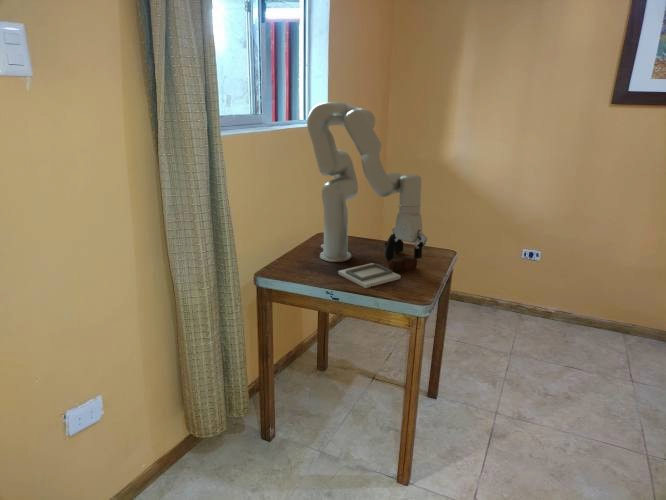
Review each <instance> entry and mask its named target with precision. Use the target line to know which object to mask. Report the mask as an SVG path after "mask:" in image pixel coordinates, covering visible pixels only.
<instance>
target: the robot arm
mask: <svg viewBox="0 0 666 500" xmlns="http://www.w3.org/2000/svg"><path fill="white" fill-rule="evenodd" d="M306 125H307V130H308V134H309V137H310V140H311V144H312V147H313V148H312V149H313V151H314V155H315V159H316V163H317V167H318V170H319V172H320V174H321V175H323V176H324V177H334V178H333V179H330V180H328V181H327V182H325V183H324V185H323V186H322V189H321V198H322V199H321V200H322V207H323V243H322V244H320V248H322V252H320V253H319V258H320V259H321V260H323V261H326V262H331V263H339V262H340V263H342V262H347V261H348V260H350V259H351V258H352V254H351V253H350V252H349V251H348V243H349V242H348V241H349V240H348V239H349V234H348V232H349V229H348V228H349V211H348V207H347V202H348V201H351V200H352V199H354V198H355V197H356V196H357V194H358V192H359V184H358V178H357V175H356V171H355V166H354V164H353V160H352V158H351V155H349V153H348V152H347V151H346V150H343V149H338V148H337V145H336V141H335V137H334V136H333V133H332V132H331V130H330V127H331V126H332V127H333V126H342V127H344V128H345V130H346V131H347V133H348V135H349V138H350V139H351V141H352V143H353V144H354V146H355V147H356V149H357V151H358V152H359V155H360V159H361V165H362V169H363V174H364V176H365V178H366V180H367V182H368V184H369V185H370V187H371V189H372V190H373V192H374V193H375V194H376V195H378V196H379V197H383V198H385V197H389V196H391V195H395V194H398V193H399V200H398V201H399V205H398V212H397V214H396V219H395V225H394V226H395V227H393V228H392V229H391V232H392V234H393V236H394V238H395V242H396V252H397V253H396V252H395V253H396V254H399V253H402V252H404V242H405V243H406V242H407V243H413V245H414V247H415V248H414V249H413V257H414V259H416V260H419V259H422V257H423V248H424V247H425V245H426V244H427V241H428V237H427V236H426V235H425V234H424V233H423V220H422V219H423V218H422V214H421V204H422V203H421V202H422V177H421V176H420V175H418V174H414V173H413V174H404V173H400V172H389V173H387V172H386V171H385V169H384V166H383V165H382V162H381V158H380V156H381V155H380V154H381V149H382V142H381V140H380V138H379V137H378V135H377V133H376V132H375V129H374V127H375V125H376V117H375V114H373V112H372V111H371V110H369V109H367V108H363V107H360V106H356V105H353V104H349V103H345V102H341V101H340V102H339V101H322V102H319V103H317V104H315V105H314V106H313V107H312V108H311V110H310V111H309V112H308V115H307V120H306ZM398 252H399V253H398Z"/></svg>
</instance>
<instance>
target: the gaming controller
mask: <svg viewBox="0 0 666 500" xmlns="http://www.w3.org/2000/svg"><path fill="white" fill-rule="evenodd" d="M384 246H385V253H384V255H385V256H384V257H385V259H386V261H387V262H389V261H390V260H391V259H395V258H394V257H395V253H396V254H399V253H400V252H398V253H397V252H396V242H395V238H394V236H393V233H392V234H390V235H389V237H388V239H387V242H385V243H384Z"/></svg>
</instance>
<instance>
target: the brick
mask: <svg viewBox="0 0 666 500" xmlns="http://www.w3.org/2000/svg"><path fill="white" fill-rule="evenodd" d="M388 262H389V263H388V269H390V270H392V272H394V273H396V274H399V273H400V274H401V273H403V272H407V271H412V270H415V269H416V268H417V265H418V259H414V256H411V255H407V256H402V257H397V258H393V259H391V260H390V261H388Z"/></svg>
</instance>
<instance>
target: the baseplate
mask: <svg viewBox="0 0 666 500" xmlns="http://www.w3.org/2000/svg"><path fill="white" fill-rule="evenodd" d="M337 272H338V273H337V274H338V275H339V276H342V277H343V278H345V279H347V280H349V281H351V282H353V283H355V284H357V285H359V287H360V286H361V287H362V288H365V289H368V288H372V287H374V286H379V285H382V284H386V283H388V282H389V283H390V282H393V281H397V280H400V279H401V275H400V274H399V273H394V272H392V270H390V269H389V267H385V266H383V265H381V264H378V263H373V262H370V263H366V264H363V265H357V266H353V267H349V268H345V269H341V270H338V271H337ZM371 286H372V287H371Z"/></svg>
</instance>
